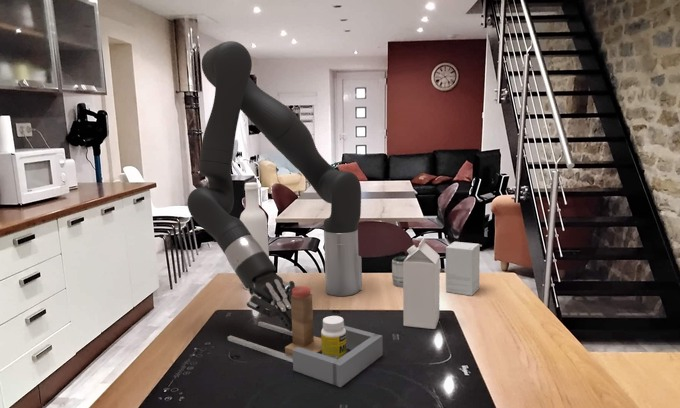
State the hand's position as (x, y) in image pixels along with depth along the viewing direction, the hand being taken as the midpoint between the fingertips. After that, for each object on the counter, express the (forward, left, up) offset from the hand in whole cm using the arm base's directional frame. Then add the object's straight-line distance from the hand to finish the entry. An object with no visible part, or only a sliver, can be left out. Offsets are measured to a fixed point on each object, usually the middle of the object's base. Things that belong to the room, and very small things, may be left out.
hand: (295, 328), depth 96 cm
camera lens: (-44, -17, -5) cm, 48 cm away
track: (+2, -5, -4) cm, 7 cm away
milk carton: (-29, +6, -5) cm, 30 cm away
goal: (-3, +10, -4) cm, 11 cm away
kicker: (-1, +3, -4) cm, 5 cm away
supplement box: (-53, -3, -5) cm, 54 cm away
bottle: (-10, -42, -5) cm, 44 cm away
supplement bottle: (-3, +9, -5) cm, 11 cm away
